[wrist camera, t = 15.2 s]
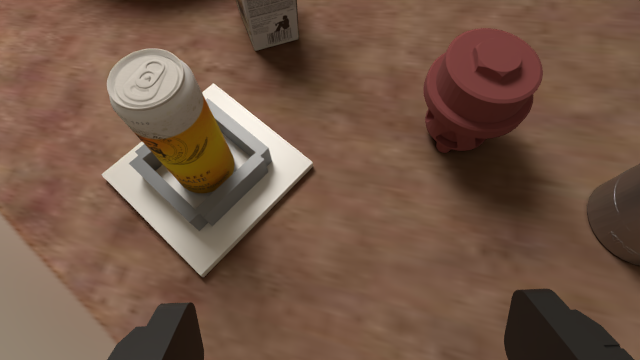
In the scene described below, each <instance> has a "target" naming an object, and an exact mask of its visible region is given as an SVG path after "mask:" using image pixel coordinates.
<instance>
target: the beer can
mask: <svg viewBox="0 0 640 360" xmlns="http://www.w3.org/2000/svg"><path fill="white" fill-rule="evenodd" d="M107 90H108V93H109V96H110V102H111V105H112V107H113V109H114V111H115V112H116V113H117V114H118V115H119V116H120V117H121V119H122V120H123V121H124V122H125V123H126V124H127V125H128V126H129V127H130V129H131V130H132V131H133V132H134V133H135V134H136V135H137V136H138V137H139V138H140V140H141V141H142V142H143V143H144V144H145V145H146V146H147V147H148V148H149V150H150V151H151V152H152V153H153V154H154V155H155V156H156V157H157V158H158V159H159V161H160V162H161V163H162V164H163V165H164V166H165V167H166V168H167V169H168V171H169V172H170V173H171V174H172V175H173V176H174V177H175V178H176V179H177V180H178V182H179V183H180V184H181V185H182V186H183V187H184V188H185V189H187V190H189V191H191V192H194V193H201V194H203V193H210V192H213V191H215V190H216V189H217V188H218V187H219V186H220V185H221V184H223V183H224V182H225V181H226V180H227V179H228V178H229V177H230V176H231V175H232V174H233V171H234V166H235V162H234V157H233V155H232V153H231V151H230V149H229V147H228V144H227V142H226V140H225V138H224V136H223V134H222V132H221V130H220V128H219V126H218V124H217V122H216V120H215V118H214V116H213V114H212V112H211V110H210V108H209V106H208V104H207V102H206V100H205V98H204V95H203V93H202V91H201V89H200V87H199V85H198V83H197V81H196V79H195V77H194V75H193V73H192V71H191V69H190V68H189V67H188V66H187V65H186V64H185V63H184V62H183V61H181V60H179V59H178V58H177V57H176V56H175V55H174V54H172V53H170V52H168V51H166V50H162V49H143V50H139V51H136V52H133V53H131V54H129V55H127V56H126V57H124V58H123V59H121V60H120V61H119V62H118V63H117V64H116V65H115V66H114V67H113V69H112V70H111V72H110V74H109V76H108V80H107Z"/></svg>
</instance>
